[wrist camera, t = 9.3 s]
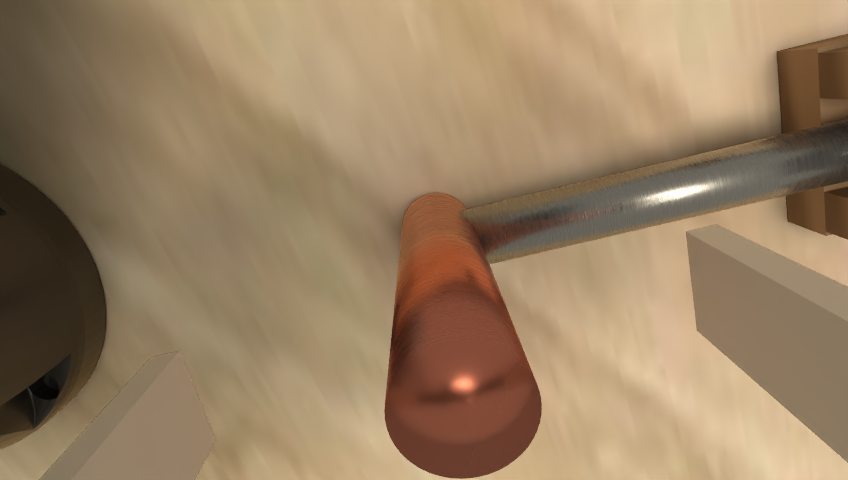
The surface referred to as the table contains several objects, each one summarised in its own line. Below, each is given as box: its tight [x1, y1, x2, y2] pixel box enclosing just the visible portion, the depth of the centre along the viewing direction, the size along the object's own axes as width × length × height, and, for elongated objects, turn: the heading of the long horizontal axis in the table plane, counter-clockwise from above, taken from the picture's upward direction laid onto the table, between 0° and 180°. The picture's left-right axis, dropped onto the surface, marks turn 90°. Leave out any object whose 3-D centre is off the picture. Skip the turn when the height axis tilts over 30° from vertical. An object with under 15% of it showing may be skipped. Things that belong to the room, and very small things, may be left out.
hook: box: [385, 119, 848, 478], centre depth 18 cm, size 24×3×15 cm, turn 104°
